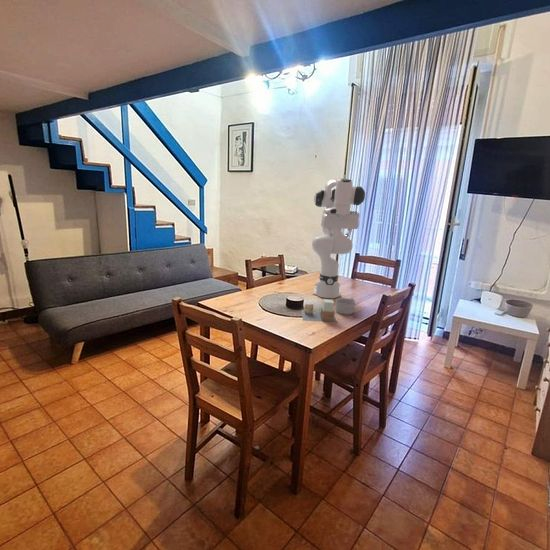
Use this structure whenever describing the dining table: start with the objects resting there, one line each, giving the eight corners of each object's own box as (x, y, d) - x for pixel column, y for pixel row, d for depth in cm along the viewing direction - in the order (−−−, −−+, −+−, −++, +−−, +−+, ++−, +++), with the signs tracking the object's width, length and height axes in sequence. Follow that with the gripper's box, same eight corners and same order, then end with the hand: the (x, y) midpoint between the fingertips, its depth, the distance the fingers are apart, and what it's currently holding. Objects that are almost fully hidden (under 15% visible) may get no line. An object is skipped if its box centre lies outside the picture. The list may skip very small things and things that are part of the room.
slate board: (300, 312, 184) (300, 310, 183) (332, 314, 184) (333, 312, 184) (302, 322, 170) (302, 320, 170) (337, 324, 170) (337, 322, 170)
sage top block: (322, 308, 175) (323, 299, 174) (331, 308, 175) (332, 299, 174) (323, 311, 170) (324, 302, 169) (333, 312, 170) (334, 302, 169)
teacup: (344, 318, 179) (346, 304, 177) (330, 312, 187) (331, 298, 185) (361, 314, 187) (363, 301, 185) (346, 308, 195) (348, 295, 193)
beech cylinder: (304, 311, 183) (305, 302, 181) (312, 311, 183) (312, 303, 181) (304, 314, 178) (305, 305, 177) (313, 314, 178) (313, 306, 177)
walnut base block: (320, 316, 177) (321, 307, 175) (331, 317, 177) (332, 308, 176) (321, 320, 171) (322, 311, 170) (333, 321, 171) (334, 312, 170)
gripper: (357, 211, 178) (354, 236, 181) (321, 209, 173) (319, 235, 177) (362, 212, 172) (359, 238, 175) (325, 210, 167) (323, 237, 171)
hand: (338, 236), depth 176 cm, fingers open, 8 cm apart
